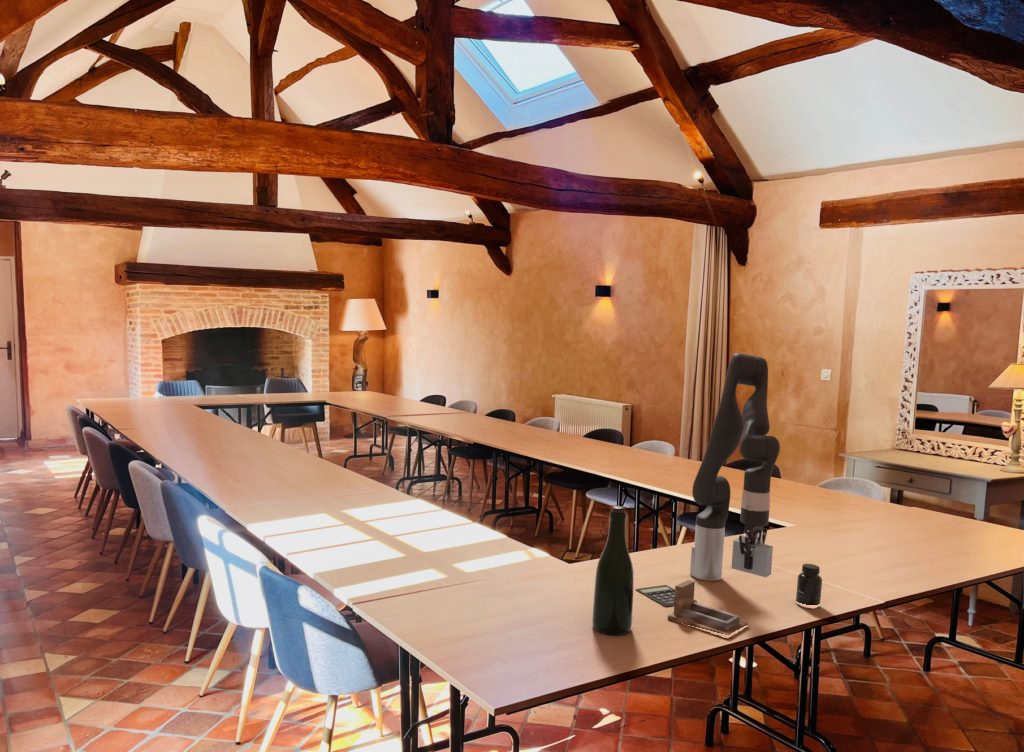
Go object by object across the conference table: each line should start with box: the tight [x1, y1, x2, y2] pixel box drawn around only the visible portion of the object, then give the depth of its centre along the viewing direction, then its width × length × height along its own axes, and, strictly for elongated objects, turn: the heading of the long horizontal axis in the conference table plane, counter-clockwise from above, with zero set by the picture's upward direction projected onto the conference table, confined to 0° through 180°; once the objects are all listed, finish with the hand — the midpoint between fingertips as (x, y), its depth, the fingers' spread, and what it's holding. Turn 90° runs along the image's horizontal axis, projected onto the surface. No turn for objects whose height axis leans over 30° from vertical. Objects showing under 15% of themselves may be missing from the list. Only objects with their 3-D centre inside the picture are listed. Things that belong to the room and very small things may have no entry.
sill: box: [667, 579, 749, 635], centre depth 213 cm, size 18×12×9 cm, turn 48°
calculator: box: [635, 584, 698, 608], centre depth 233 cm, size 12×1×15 cm
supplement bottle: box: [795, 563, 823, 605], centre depth 230 cm, size 7×7×12 cm
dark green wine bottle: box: [591, 505, 635, 636], centre depth 205 cm, size 10×10×33 cm
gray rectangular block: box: [731, 537, 774, 578], centre depth 215 cm, size 10×4×8 cm, turn 49°
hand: (751, 566), depth 216 cm, fingers closed on gray rectangular block, 3 cm apart
